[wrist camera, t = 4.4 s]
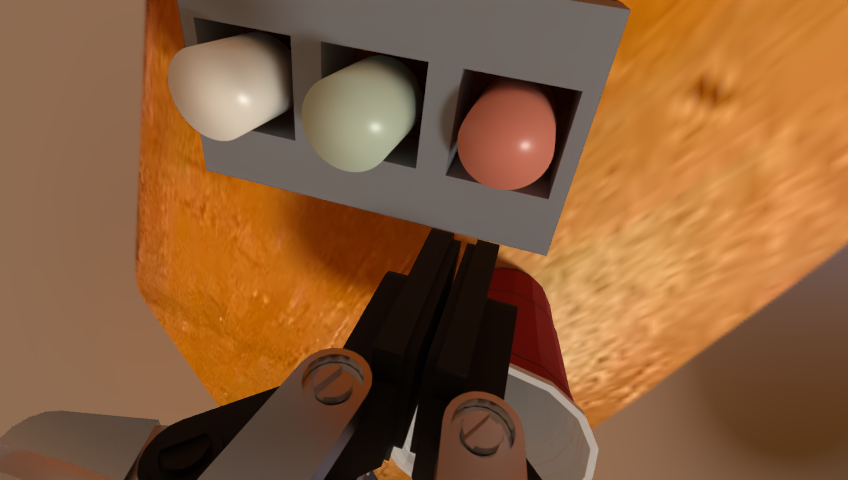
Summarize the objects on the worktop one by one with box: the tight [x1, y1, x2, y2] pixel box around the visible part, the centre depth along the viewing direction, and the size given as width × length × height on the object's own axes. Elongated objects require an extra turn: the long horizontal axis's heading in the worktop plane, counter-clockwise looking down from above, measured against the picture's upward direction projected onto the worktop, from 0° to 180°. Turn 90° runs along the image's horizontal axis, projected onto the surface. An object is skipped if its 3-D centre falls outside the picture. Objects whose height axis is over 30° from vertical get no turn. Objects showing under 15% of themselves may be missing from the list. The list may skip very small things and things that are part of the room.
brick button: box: [457, 76, 557, 190], centre depth 22 cm, size 4×4×5 cm
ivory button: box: [168, 32, 294, 141], centre depth 23 cm, size 4×4×5 cm
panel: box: [177, 0, 631, 256], centre depth 24 cm, size 12×21×4 cm, turn 83°
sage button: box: [302, 55, 422, 172], centre depth 22 cm, size 4×4×5 cm
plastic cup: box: [391, 268, 599, 480], centre depth 26 cm, size 11×11×12 cm
